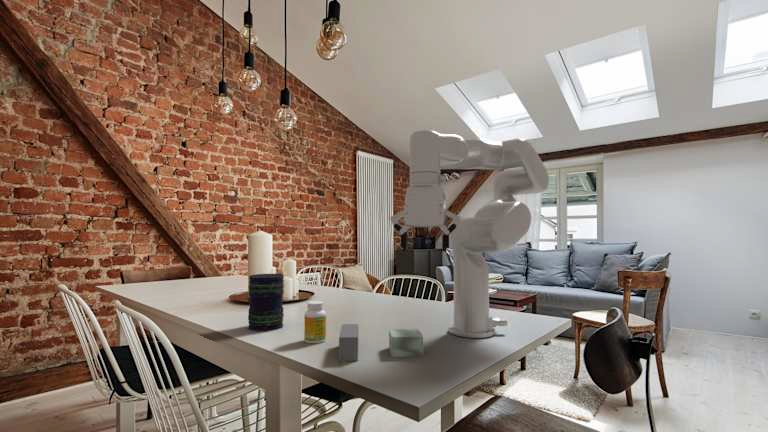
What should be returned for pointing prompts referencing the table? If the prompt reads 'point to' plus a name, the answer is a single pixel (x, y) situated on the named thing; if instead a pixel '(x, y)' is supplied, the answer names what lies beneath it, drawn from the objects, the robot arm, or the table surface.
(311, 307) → the supplement bottle
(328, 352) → the table surface
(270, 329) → the storage jar
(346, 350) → the gray rectangular block
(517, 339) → the table surface
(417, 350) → the sage block
